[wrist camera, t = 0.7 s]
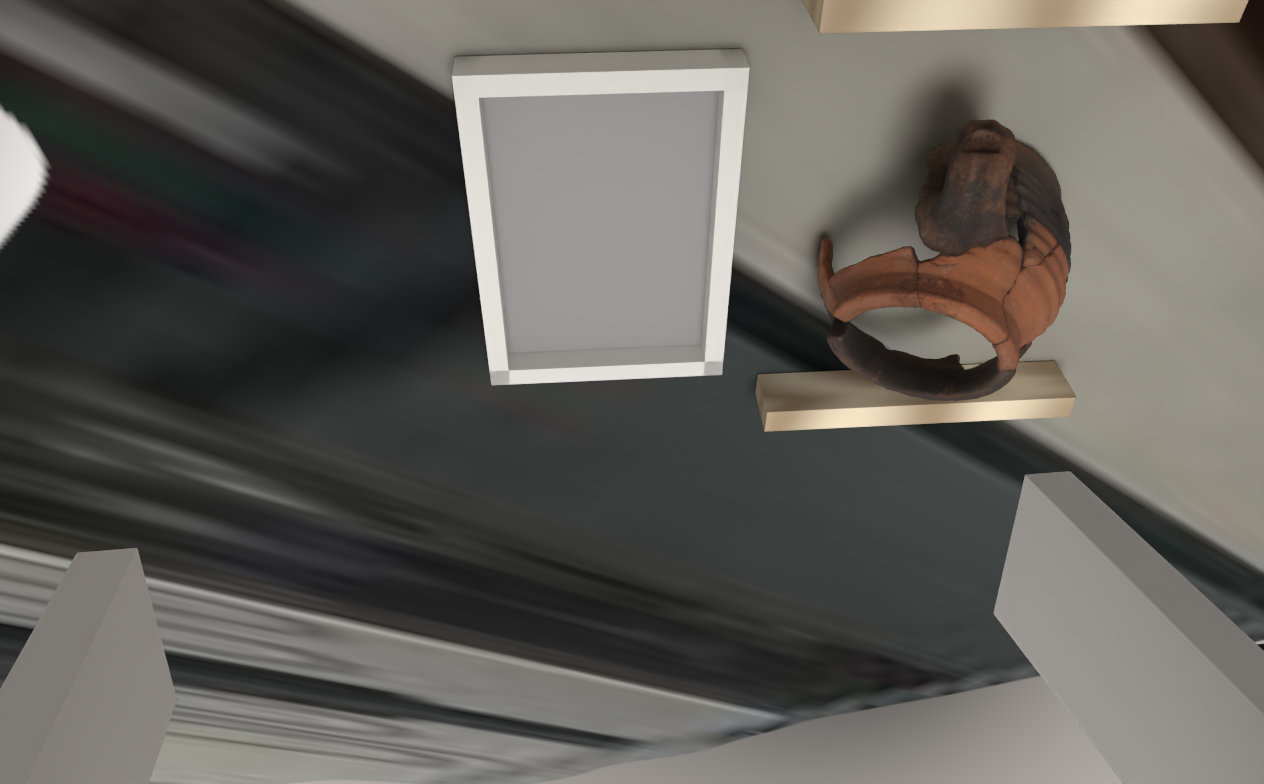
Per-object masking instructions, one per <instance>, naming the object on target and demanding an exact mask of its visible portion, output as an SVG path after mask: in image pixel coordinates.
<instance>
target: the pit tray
mask: <svg viewBox="0 0 1264 784" xmlns="http://www.w3.org/2000/svg"><path fill="white" fill-rule="evenodd" d="M748 79H749V65H748V62H747V59H746V56H745V54H744V51H743V49H715V50H678V51H641V52H604V53H567V54H530V55H493V56H456V57H454V64H453V71H452V81H453V89H454V97H455V104H456V112H457V120H458V128H459V136H460V143H461V151H462V159H463V167H464V175H465V183H466V190H467V198H468V206H469V214H470V222H471V229H472V237H473V245H474V253H475V261H476V268H477V276H478V284H479V292H480V300H481V308H482V315H483V323H484V331H485V339H486V347H487V354H488V362H489V370H490V378H491V385H508V384H530V383H552V382H574V381H596V380H618V379H639V378H661V377H683V376H705V375H722V368H723V357H724V346H725V335H726V324H727V313H728V301H729V290H730V279H731V268H732V257H733V246H734V235H735V224H736V213H737V201H738V190H739V179H740V168H741V157H742V146H743V135H744V124H745V112H746V101H747V90H748Z"/></svg>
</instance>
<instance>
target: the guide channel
mask: <svg viewBox="0 0 1264 784" xmlns="http://www.w3.org/2000/svg"><path fill="white" fill-rule="evenodd" d="M1247 3H1248V0H804V4H805V6H806V8H807V10H808V12H809V14H810V16H811V18H812V20H813V22H814V24H815V26H816V28H817V30H818V32H819V33H849V32H888V31H926V30H964V29H1002V28H1040V27H1078V26H1116V25H1154V24H1192V23H1230V22H1239V21H1240V19H1241V16H1242V14H1243V12H1244V9H1245V7H1246V5H1247ZM978 365H980V364H973V365H962V366H963V367H964V369H965V370H966V369H970V368H973V367H976V366H978ZM755 394H756V398H757V402H758V406H759V410H760V414H761V419H762V423H763V427H764V431H785V430H805V429H825V428H846V427H866V426H887V425H907V424H927V423H948V422H968V421H989V420H1009V419H1030V418H1050V417H1068V416H1069V414H1070V412H1071V409H1072V407H1073V405H1074V402H1075V400H1076V398H1077V397H1076V396H1075V394H1074V392H1073V391H1072V389H1071V387H1070V385H1069V384H1068V382H1067V380H1066V379H1065V377H1064V375H1063V374H1062V372H1061V370H1060V368H1059V367H1058V365H1057V363H1056V362H1055V361H1039V362H1018V366H1017V368H1016V373H1015V375H1014V376H1013V378H1012V379H1011V381H1010V382H1009V383H1008V384H1007V385H1005V386H1004V387H1003V388H1001V389H999V390H998V391H996V392H994V393H992V394H990V395H987V396H984V397H980V398H977V399H969V400H961V401H952V400H951V401H938V400H935V401H934V400H928V399H922V398H917V397H912V396H907V395H905V394H901V393H899V392H896V391H891V390H887V389H886V388H884V387H882V386H879V385H877V384H875V383H874V382H873V381H871V380H867V379H865V378H864V377H862V376H860V375H858V374H856V373H855V372H853V371H852V370H842V371H820V372H798V373H776V374H758V377H757V385H756V393H755Z"/></svg>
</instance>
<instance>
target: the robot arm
mask: <svg viewBox="0 0 1264 784" xmlns="http://www.w3.org/2000/svg"><path fill="white" fill-rule="evenodd" d="M994 615H995V616H996V617H997V619H998V620H999V621H1000V623H1001V624H1002V625H1003V627H1004V628H1005V629H1006V631H1007V632H1008V633H1009V634H1010V636H1011V637H1012V638H1013V640H1014V641H1015V642H1016V644H1017V645H1018V646H1019V648H1020V649H1021V650H1022V652H1023V653H1024V654H1025V656H1026V657H1027V658H1028V659H1029V661H1030V662H1031V663H1032V665H1033V666H1034V667H1035V669H1036V670H1037V671H1038V673H1039V674H1040V675H1041V677H1042V678H1043V679H1044V681H1045V682H1046V683H1047V684H1048V686H1049V687H1050V688H1051V690H1052V691H1053V692H1054V694H1055V695H1056V696H1057V697H1058V699H1059V700H1060V702H1061V703H1062V704H1063V705H1064V707H1065V708H1066V709H1067V711H1068V712H1069V713H1070V715H1071V716H1072V717H1073V719H1074V720H1075V721H1076V723H1077V724H1078V725H1079V727H1080V728H1081V729H1082V730H1083V732H1084V733H1085V734H1086V736H1087V737H1088V738H1089V740H1090V741H1091V742H1092V744H1093V745H1094V746H1095V747H1096V749H1097V750H1098V752H1099V753H1100V754H1101V755H1102V757H1103V758H1104V759H1105V761H1106V762H1107V763H1108V765H1109V766H1110V767H1111V769H1112V770H1113V771H1114V773H1115V774H1116V775H1117V777H1118V778H1119V779H1120V780H1121V782H1122V783H1123V784H1264V644H1258V645H1257V644H1256V643H1255V642H1254V641H1253V640H1252V639H1250V638H1249V637H1248V636H1247V635H1246V634H1245V633H1244V632H1243V631H1242V630H1241V629H1240V628H1239V627H1237V626H1236V625H1235V624H1234V623H1233V622H1232V621H1231V620H1230V619H1229V618H1228V617H1227V616H1226V615H1225V614H1223V613H1222V612H1221V611H1220V610H1219V609H1218V608H1217V607H1216V606H1215V605H1214V604H1213V603H1212V602H1210V601H1209V600H1208V599H1207V598H1206V597H1205V596H1204V595H1203V594H1202V593H1201V592H1200V591H1199V590H1198V589H1196V588H1195V587H1194V586H1193V585H1192V584H1191V583H1190V582H1189V581H1188V580H1187V579H1186V578H1185V577H1183V576H1182V575H1181V574H1180V573H1179V572H1178V571H1177V570H1176V569H1175V568H1174V567H1173V566H1172V565H1171V564H1169V563H1168V562H1167V561H1166V560H1165V559H1164V558H1163V557H1162V556H1161V555H1160V554H1159V553H1158V552H1156V551H1155V550H1154V549H1153V548H1152V547H1151V546H1150V545H1149V544H1148V543H1147V542H1146V541H1145V540H1143V539H1142V538H1141V537H1140V536H1139V535H1138V534H1137V533H1136V532H1135V531H1134V530H1133V529H1132V528H1131V527H1129V526H1128V525H1127V524H1126V523H1125V522H1124V521H1123V520H1122V519H1121V518H1120V517H1119V516H1118V515H1116V514H1115V513H1114V512H1113V511H1112V510H1111V509H1110V508H1109V507H1108V506H1107V505H1106V504H1105V503H1104V502H1102V501H1101V500H1100V499H1099V498H1098V497H1097V496H1096V495H1095V494H1094V493H1093V492H1092V491H1091V490H1089V489H1088V488H1087V487H1086V486H1085V485H1084V484H1083V483H1082V482H1081V481H1080V480H1079V479H1078V478H1077V477H1075V476H1074V475H1073V474H1072V473H1071V472H1070V471H1068V472H1056V473H1044V474H1032V475H1025V478H1024V483H1023V487H1022V491H1021V496H1020V500H1019V505H1018V509H1017V513H1016V518H1015V522H1014V526H1013V531H1012V535H1011V540H1010V544H1009V548H1008V553H1007V557H1006V561H1005V566H1004V570H1003V575H1002V579H1001V583H1000V588H999V592H998V597H997V601H996V605H995V610H994ZM176 700H177V699H176V695H175V691H174V687H173V683H172V679H171V676H170V672H169V668H168V664H167V660H166V656H165V653H164V649H163V645H162V641H161V637H160V633H159V630H158V626H157V622H156V618H155V614H154V610H153V607H152V603H151V599H150V595H149V591H148V588H147V584H146V580H145V576H144V572H143V568H142V565H141V561H140V557H139V553H138V549H137V548H131V549H119V550H107V551H95V552H83V553H77V554H76V556H75V557H74V559H73V561H72V563H71V564H70V566H69V568H68V570H67V572H66V573H65V575H64V577H63V579H62V580H61V582H60V584H59V586H58V588H57V589H56V591H55V593H54V595H53V596H52V598H51V600H50V602H49V604H48V605H47V607H46V609H45V611H44V612H43V614H42V616H41V618H40V620H39V621H38V623H37V625H36V627H35V628H34V630H33V632H32V634H31V636H30V637H29V639H28V641H27V643H26V644H25V646H24V648H23V650H22V652H21V653H20V655H19V657H18V659H17V660H16V662H15V664H14V666H13V668H12V669H11V671H10V673H9V675H8V676H7V678H6V680H5V682H4V684H3V685H2V687H1V689H0V784H149V781H150V778H151V775H152V772H153V769H154V766H155V763H156V760H157V757H158V754H159V751H160V748H161V745H162V742H163V739H164V736H165V733H166V730H167V727H168V724H169V721H170V718H171V715H172V712H173V709H174V706H175V703H176Z"/></svg>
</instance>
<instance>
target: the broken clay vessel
mask: <svg viewBox="0 0 1264 784" xmlns="http://www.w3.org/2000/svg"><path fill="white" fill-rule="evenodd" d="M928 156H929V158H928V160H927V161H926V172H927V173H926V183H925V184H924V185H923V186H922V187H921V191H920V197H919V202H918V204H917V205H916V208H915V219H916V222H917V225H918V229H919V235H920V238H921V240H922V242H923V243H924V245H926V246H927V247H928V248H930V249H931V250H934V251H937V252H940V254H939V255H938V256H936V257H934V258H932V259H927V260H923V261H919V260H918V258H917V255H916V253H915V250H914V248H913V247H911V246H907V247H902V248H899V249H897V250H893V251H890V252H887V253H884V254H879V255H875V256H871V257H868V258H867V259H865V260H863V261H861V262H859V263H857V264H854V265H850V266H848V267H845V268H843V269H841V270H839V271H838V272H836V273H835V274H834V272H833V268H832V259H833V244H832V242H831V241H830V240H829V239H828V238H823V239H822V241H821V246H820V252H819V259H818V284H819V289H820V291H821V297H822V299H823V301H824V305H825V307H826V310H827V312H828V314H829V316H830V318H831V320H832V321H833V322H832V326H831V328H830V331H829V333H828V336H827V342H828V344H829V345H830V347H831V349H832V351H833V352H834V354H835V355H836V356H837V357H838V358H839V359H840V360H841V361H842V363H843V364H845V365H846V366H847V367H848V368H849V369H851V370H852V371H853V372H855V373H856V374H858V375H860V376H862V377H864V378H865V379H867V380H871V381H873V382H874V383H875V384H877V385H879V386H882V387H884V388H886V389H887V390H891V391H896V392H899V393H901V394H905V395H907V396H912V397H917V398H922V399H928V400H934V401H935V400H938V401H951V400H952V401H961V400H969V399H977V398H980V397H984V396H987V395H990V394H992V393H994V392H996V391H998V390H999V389H1001V388H1003V387H1004V386H1005V385H1007V384H1008V383H1009V382H1010V381H1011V379H1012V378H1013V376H1014V375H1015V373H1016V368H1017V366H1018V362H1019V359H1020V358H1021V357H1022V356H1023V355H1024V354H1025V353H1026V351H1027V350H1028V348H1030V346H1031V344H1032V341H1033V340H1034V339H1035V338H1036V337H1037V336H1039V335H1041V334H1043V333H1044V332H1045V330H1046V329H1047V327H1049V326H1050V325H1052V324H1053V322H1054V320H1055V319H1056V317H1057V314H1058V312H1059V308H1060V307H1061V305H1062V304H1063V301H1064V298H1065V294H1066V283H1067V281H1068V274H1069V272H1070V267H1071V258H1070V255H1071V243H1070V233H1069V221H1068V218H1067V215H1066V213H1065V209H1064V206H1063V203H1062V200H1061V189H1060V185H1059V182H1058V180H1057V177H1056V175H1055V173H1054V171H1053V170H1052V169H1051V168H1050V166H1049V165H1048V164H1047V162H1046V161H1045V160H1044V159H1043V158H1042V157H1041V156H1040V155H1039V154H1038V153H1037V152H1036V151H1034V150H1033V149H1031V148H1029V147H1026V146H1024V145H1023V144H1021V143H1019V142H1018V141H1015V138H1014V135H1013V133H1012V131H1010V130H1009V129H1008V128H1006V127H1004V126H1002V125H1001V124H1000V123H998V122H997V121H995V120H972V121H970V122H968V123H966V124H964V125H963V126H961V127H960V128H959V129H958V131H957V133H956V135H955V137H954V139H953V140H952V141H950V142H946V143H943V144H941V145H939V146H937V147H935V148H933V149H932V150H930V151H929V153H928ZM1013 217H1016V218H1017V227H1018V236H1019V242H1018V241H1017V240H1016V238H1015V237H1013V236H1010V235H1009V229H1010V224H1009V221H1008V218H1013ZM886 307H914V308H918V307H922V308H925V309H927V310H931V311H934V312H938V313H941V314H944V315H946V316H949V317H951V318H954V319H956V320H958V321H960V322H962V323H965V324H967V325H968V326H970V327H972V328H973V329H975V330H976V331H978V332H979V333H981V334H982V335H983V336H984V337H985V338H986V339H987V340H988V341H989V342H991V343H992V345H993V347H994V349H995V351H996V353H997V356H996V357H995V358H993V359H991V360H988V361H987V362H985V363H983V364H980V365H978V366H976V367H973V368H970V369H966V370H965V369H964V367H963V366H962V365H961V364H960V363H959V361H960V357H959V355H958V354H954V355H949V356H947V357H945V358H940V359H924V358H920V357H917V356H914V355H911V354H908V353H905V352H901V351H896V350H888V349H886V348H885V346H884V345H883V344H882V343H881V342H880V341H878V340H876V339H875V338H873V337H872V336H869V335H868V334H866V333H864V332H863V331H861V330H859V329H858V328H857V327H856V326H854V325H853V324H852V323H851V322H850V320H852V319H853V318H855V317H857V316H858V315H860V314H862V313H864V312H866V311H868V310H871V309H878V308H886Z"/></svg>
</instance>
